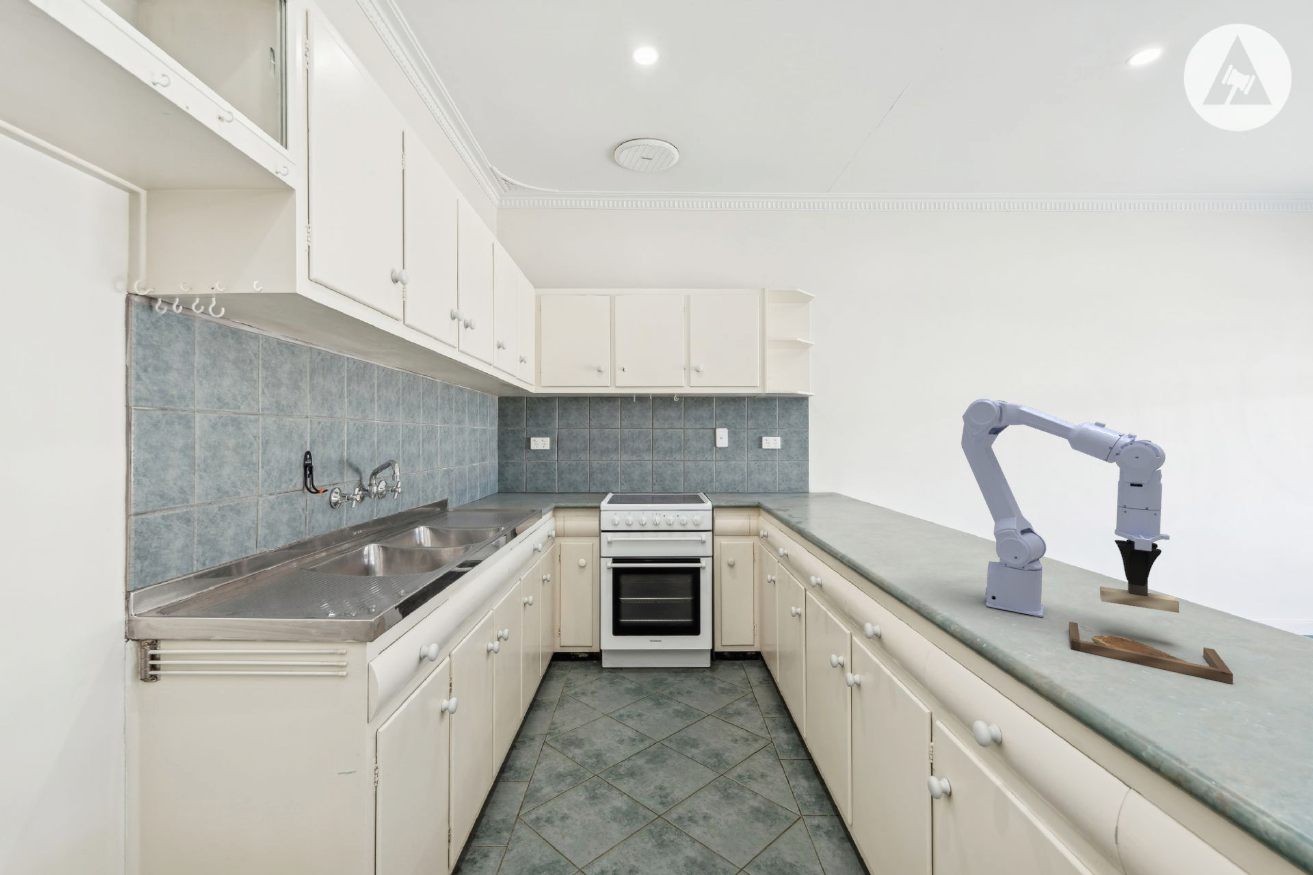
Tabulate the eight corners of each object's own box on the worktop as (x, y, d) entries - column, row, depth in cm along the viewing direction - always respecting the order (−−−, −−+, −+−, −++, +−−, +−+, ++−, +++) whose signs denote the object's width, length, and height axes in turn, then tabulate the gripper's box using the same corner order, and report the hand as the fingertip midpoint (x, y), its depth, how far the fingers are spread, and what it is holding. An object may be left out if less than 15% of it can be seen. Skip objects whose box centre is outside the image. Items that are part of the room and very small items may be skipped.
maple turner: (1101, 601, 93) (1101, 563, 93) (1100, 597, 95) (1100, 560, 95) (1179, 612, 87) (1179, 572, 87) (1175, 608, 89) (1175, 568, 89)
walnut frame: (1070, 649, 86) (1071, 640, 86) (1068, 629, 94) (1069, 621, 94) (1232, 684, 74) (1233, 674, 74) (1213, 658, 83) (1214, 649, 83)
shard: (1196, 674, 78) (1196, 663, 78) (1153, 676, 77) (1153, 665, 77) (1124, 644, 89) (1124, 634, 89) (1085, 646, 88) (1085, 635, 88)
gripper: (1178, 515, 83) (1175, 598, 83) (1162, 505, 94) (1159, 578, 94) (1120, 510, 87) (1117, 589, 87) (1111, 501, 98) (1109, 571, 99)
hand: (1135, 583), depth 91 cm, fingers closed on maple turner, 2 cm apart
